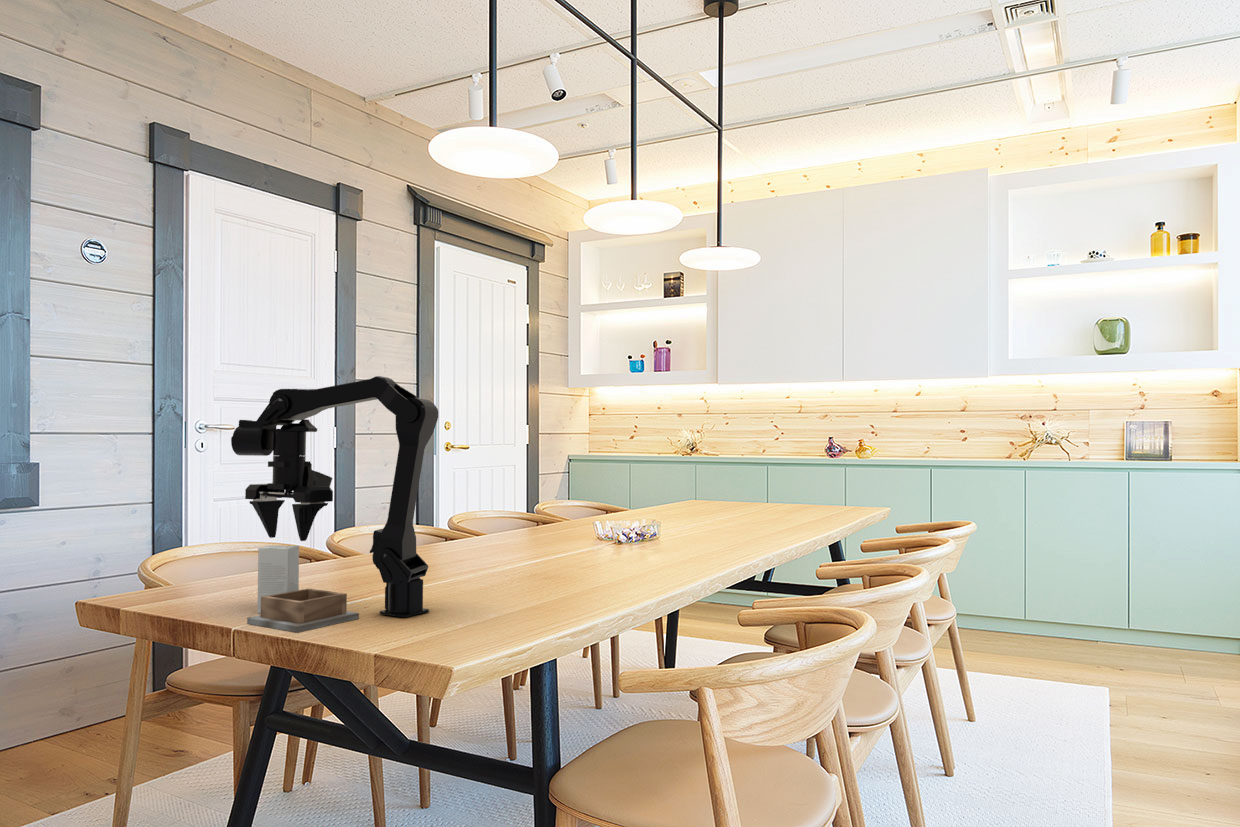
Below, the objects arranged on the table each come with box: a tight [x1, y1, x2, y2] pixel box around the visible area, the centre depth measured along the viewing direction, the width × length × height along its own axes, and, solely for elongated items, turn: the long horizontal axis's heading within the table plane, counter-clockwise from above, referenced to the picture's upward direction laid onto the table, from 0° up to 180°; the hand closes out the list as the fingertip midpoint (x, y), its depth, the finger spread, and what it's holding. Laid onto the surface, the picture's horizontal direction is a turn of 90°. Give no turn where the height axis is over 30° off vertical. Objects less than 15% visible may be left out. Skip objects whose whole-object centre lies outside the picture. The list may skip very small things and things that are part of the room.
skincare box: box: [256, 545, 300, 614], centre depth 154 cm, size 6×4×12 cm
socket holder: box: [246, 588, 360, 633], centre depth 145 cm, size 13×13×4 cm
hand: (287, 539), depth 156 cm, fingers open, 9 cm apart
